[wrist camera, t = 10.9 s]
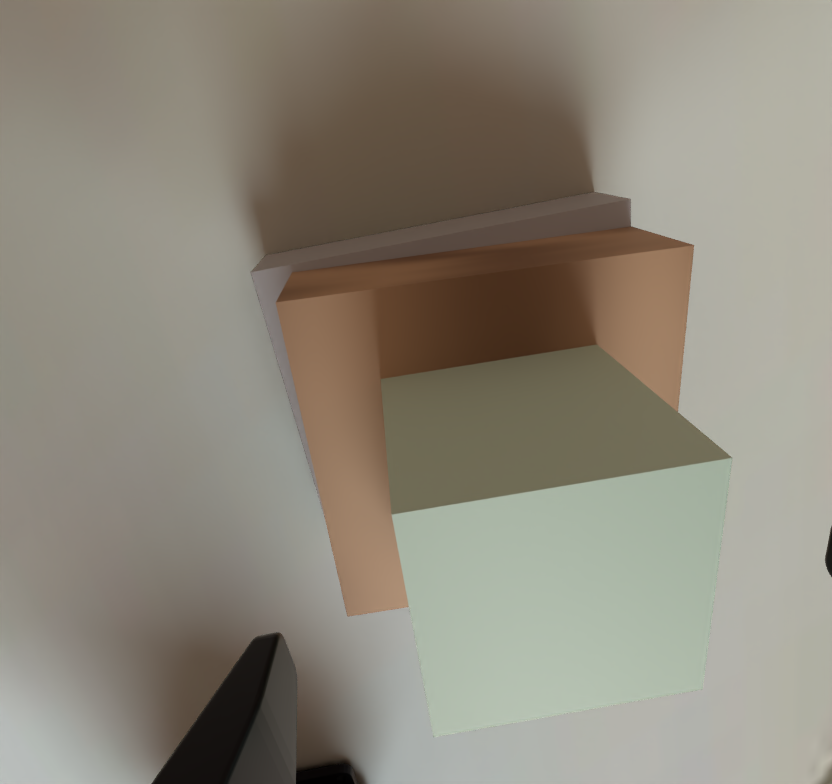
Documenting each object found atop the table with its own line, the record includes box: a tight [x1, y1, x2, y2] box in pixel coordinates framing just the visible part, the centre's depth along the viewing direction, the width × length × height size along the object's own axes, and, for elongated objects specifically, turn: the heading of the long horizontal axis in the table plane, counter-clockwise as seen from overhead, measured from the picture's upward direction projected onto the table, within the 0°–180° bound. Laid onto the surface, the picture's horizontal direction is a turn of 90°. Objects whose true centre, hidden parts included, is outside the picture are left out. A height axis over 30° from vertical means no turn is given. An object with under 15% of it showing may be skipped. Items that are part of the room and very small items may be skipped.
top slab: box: [276, 227, 694, 616], centre depth 15 cm, size 9×9×3 cm
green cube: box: [381, 345, 732, 737], centre depth 11 cm, size 5×5×5 cm
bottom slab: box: [251, 192, 631, 517], centre depth 18 cm, size 10×10×3 cm
